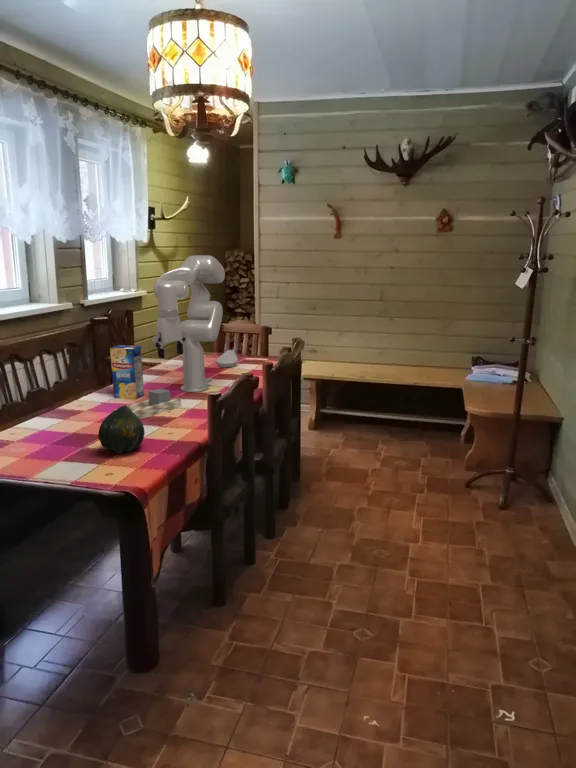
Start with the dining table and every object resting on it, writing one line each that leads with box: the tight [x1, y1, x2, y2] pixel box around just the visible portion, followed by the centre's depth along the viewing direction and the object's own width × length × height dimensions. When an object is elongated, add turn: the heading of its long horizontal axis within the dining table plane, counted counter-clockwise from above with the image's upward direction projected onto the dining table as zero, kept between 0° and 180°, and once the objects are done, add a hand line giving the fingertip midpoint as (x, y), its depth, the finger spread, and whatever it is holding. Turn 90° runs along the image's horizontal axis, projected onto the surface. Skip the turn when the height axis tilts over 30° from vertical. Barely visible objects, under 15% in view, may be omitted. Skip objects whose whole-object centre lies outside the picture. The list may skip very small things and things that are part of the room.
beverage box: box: [109, 344, 145, 400], centre depth 262 cm, size 7×11×22 cm, turn 75°
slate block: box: [148, 388, 172, 406], centre depth 244 cm, size 6×6×6 cm
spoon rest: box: [215, 349, 239, 368], centre depth 328 cm, size 24×12×7 cm, turn 175°
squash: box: [97, 405, 146, 455], centre depth 199 cm, size 14×15×15 cm
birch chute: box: [113, 397, 182, 420], centre depth 240 cm, size 26×9×4 cm, turn 143°
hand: (171, 355), depth 247 cm, fingers open, 9 cm apart
